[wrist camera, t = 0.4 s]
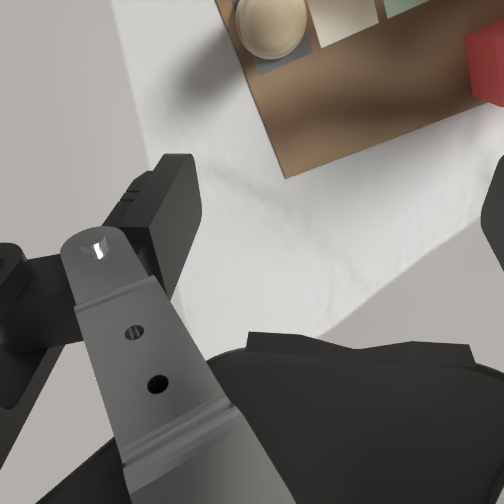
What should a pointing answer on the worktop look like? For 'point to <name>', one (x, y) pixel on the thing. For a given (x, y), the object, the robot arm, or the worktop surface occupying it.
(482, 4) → the game board
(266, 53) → the birch pawn
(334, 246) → the worktop surface
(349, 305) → the worktop surface
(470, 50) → the red die
